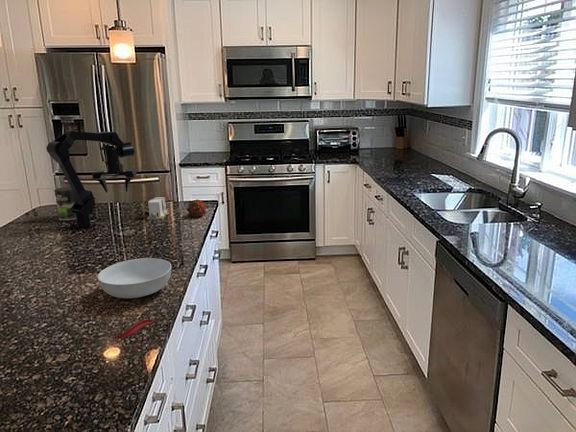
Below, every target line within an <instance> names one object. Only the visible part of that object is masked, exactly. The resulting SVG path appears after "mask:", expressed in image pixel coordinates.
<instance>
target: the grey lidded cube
mask: <svg viewBox="0 0 576 432" xmlns="http://www.w3.org/2000/svg"><path fill="white" fill-rule="evenodd" d="M147 203H148V204H147V205H148V213H149V215H150V217H152V216H153V215H152V214H153V213H158V217H161V215H162V214H163V211H162V201H161V199H156V200H153V199H149V200H148V202H147ZM149 215H148V216H149Z"/></svg>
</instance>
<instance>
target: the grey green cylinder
mask: <svg viewBox="0 0 576 432" xmlns="http://www.w3.org/2000/svg"><path fill="white" fill-rule="evenodd" d="M53 192H54V197H55V202H56V209H57V214H58V220H59V221H72V220H73V221H74V220H76V213H72V211H71V207H72V206H73V205H74V203H75V201H74V193H73V190H72V188H71V187H70V186H66V187H65V186H63V187H58V188H56V189H54V190H53Z"/></svg>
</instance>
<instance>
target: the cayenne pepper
mask: <svg viewBox="0 0 576 432" xmlns="http://www.w3.org/2000/svg"><path fill="white" fill-rule="evenodd" d="M153 322H156V320H155V319H148V318H147V319H144V320H140V321H138V322H136V323H135V324H133V325H132V326H131V327H130V328H128V329H127V330H126V331H124V332H123V333H121V334H119V335H117V336H114V337H113V338H115V339H116V338H121V339H123V338H128V337H131V336H133V335H135V334H137V333H138V332H139V331H140V330H141V329H143V328H145V327H146V326H149V325H150V324H152V323H153Z"/></svg>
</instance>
